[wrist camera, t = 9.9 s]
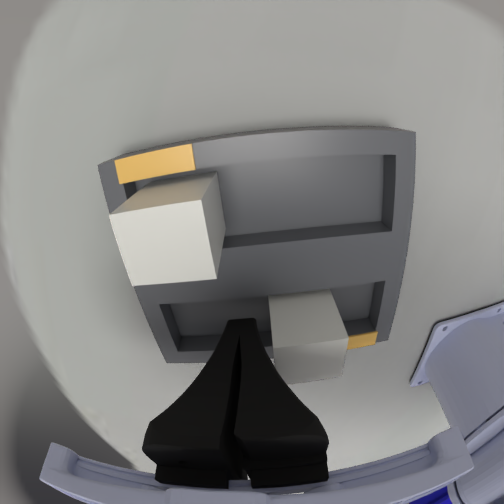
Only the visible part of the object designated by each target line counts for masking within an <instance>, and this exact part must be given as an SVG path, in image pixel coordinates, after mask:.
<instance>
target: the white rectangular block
mask: <svg viewBox="0 0 504 504" xmlns="http://www.w3.org/2000/svg"><path fill="white" fill-rule="evenodd" d="M109 218H110V221H111V225H112V228H113V231H114V235H115V238H116V241H117V244H118V247H119V250H120V253H121V256H122V259H123V262H124V265H125V268H126V271H127V273H128V276H129V279H130V282H131V284H132V286H138V285H151V284H164V283H176V282H188V281H199V280H211V279H217V275H218V269H219V263H220V258H221V252H222V247H223V241H224V236H225V231H226V227H225V221H224V215H223V208H222V202H221V196H220V189H219V183H218V176H217V171H215V172H208V173H201V174H195V175H189V176H182V177H176V178H171V179H165V180H160V181H154V182H149V183H148V184H147V185H145V186H144V187H143V188H141V189H140V190H139V191H138V192H136V193H135V194H134V195H132V196H131V197H130V198H129V199H127V200H126V201H125V202H124V203H123V204H121V205H120V206H119V207H118V208H117V209H115V210H114V211H113V212H112V213H111V214H109Z"/></svg>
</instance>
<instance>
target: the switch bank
mask: <svg viewBox="0 0 504 504" xmlns="http://www.w3.org/2000/svg"><path fill="white" fill-rule="evenodd" d="M415 160H416V132H413V131H408V130H403V129H398V128H392V127H375V126H321V127H298V128H283V129H271V130H260V131H250V132H242V133H234V134H226V135H219V136H212V137H206V138H200V139H194V140H188V141H183V142H177V143H172V144H167V145H162V146H158V147H153V148H149V149H144V150H140V151H136V152H132V153H128V154H124V155H120V156H118V157H115V158H113V159H111V160H108V161H106V162H103V163H101V164H99V165H98V169H99V174H100V178H101V182H102V186H103V190H104V194H105V198H106V202H107V206H108V209H109V213H110V214H111V213H112V212H113V211H114V210H115V209H117V208H118V207H119V206H120V205H121V204H123V203H124V202H125V201H126V200H127V199H129V198H130V197H131V196H132V195H134V194H135V193H136V192H138V191H139V190H140V189H141V188H143V187H144V186H145V185H147V184H148V183H149V182H154V181H160V180H165V179H171V178H176V177H182V176H189V175H195V174H201V173H208V172H215V171H217V176H218V183H219V189H220V196H221V202H222V208H223V215H224V221H225V227H226V231H225V236H224V241H223V247H222V252H221V258H220V263H219V269H218V275H217V279H211V280H199V281H188V282H176V283H164V284H151V285H138V286H134V289H135V291H136V294H137V296H138V299H139V301H140V304H141V306H142V309H143V311H144V314H145V316H146V319H147V321H148V323H149V326H150V328H151V330H152V332H153V335H154V337H155V339H156V341H157V344H158V346H159V348H160V350H161V352H162V354H163V356H164V359H165V361H166V363H207V362H208V360H209V358H210V357H211V355H212V353H213V352H214V350H215V348H216V346H217V344H218V342H219V340H220V338H221V336H222V334H223V331H224V329H225V326H226V324H227V321H228V320H231V319H243V318H255V319H256V321H257V328H258V332H259V335H260V338H261V341H262V343H263V345H264V348H265V350H266V352H267V354H268V356H269V358H274V352H273V342H272V331H271V320H270V309H269V299H268V296H269V295H278V294H288V293H296V292H305V291H313V290H321V289H329V288H330V291H331V293H332V296H333V298H334V301H335V303H336V306H337V308H338V311H339V314H340V316H341V319H342V321H343V324H344V327H345V329H346V332H347V335H348V337H349V340H348V346H347V350H348V349H354V348H359V347H364V346H369V345H374V344H375V343H376V342H381V341H386V340H388V338H389V334H390V330H391V327H392V323H393V319H394V315H395V311H396V307H397V302H398V298H399V293H400V288H401V284H402V278H403V273H404V268H405V262H406V256H407V250H408V243H409V236H410V228H411V219H412V209H413V198H414V184H415Z"/></svg>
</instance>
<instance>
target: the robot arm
mask: <svg viewBox="0 0 504 504" xmlns="http://www.w3.org/2000/svg"><path fill="white" fill-rule="evenodd" d="M427 382H430V384H431V386H432V388H433V390H434V392H435V394H436V396H437V398H438V400H439V403H440V405H441V407H442V409H443V411H444V414H445V416H446V418H447V420H448V423H449V425H450V427H451V428H450V429H448V430H446V431H444V432H441V433H439V434H437V435H435V436H434V437H433V438H431V439H430V440H429V442H428V443H427V444H425V445H422V446H419V447H417V448H414V449H411V450H409V451H406V452H403V453H400V454H397V455H394V456H391V457H387V458H384V459H381V460H377V461H374V462H370V463H366V464H362V465H358V466H354V467H349V468H345V469H340V470H335V471H330V472H328V467H327V454H326V451H327V448H328V445H329V440H328V436H327V434H326V431H325V429H324V428H323V426H322V424H321V422H320V421H319V419H318V417H317V416H316V415H315V414H314V413H313V412H311V411H310V410H309V409H308V408H307V407H306V406H305V405H304V404H303V403H302V402H301V401H300V400H299V399H298V397H297V396H296V395H295V394H294V393H293V392H292V390H291V389H290V388H289V387H288V386H287V384H286V383H285V382H284V380H283V379H282V377H281V376H280V374H279V373H278V371H277V370H276V368H275V367H274V365H273V363H272V361H271V360H270V358H269V356H268V354H267V352H266V350H265V348H264V345H263V343H262V341H261V338H260V335H259V332H258V328H257V321H256V319H255V318H243V319H231V320H228V321H227V324H226V326H225V329H224V331H223V334H222V336H221V338H220V340H219V342H218V344H217V346H216V348H215V350H214V352H213V353H212V355H211V357H210V358H209V360H208V362H207V363H206V365H205V366H204V368H203V369H202V371H201V372H200V374H199V375H198V376H197V378H196V379H195V380H194V381H193V383H192V384H191V385H190V386H189V387H188V388H187V390H186V391H185V392H184V393H183V394H182V395H181V396H180V397H179V398H178V399H177V400H176V401H175V402H174V403H173V404H172V405H171V406H170V407H168V408H167V409H166V410H165V411H164V412H162V413H161V414H160V415H158V416H157V417H156V418H155V419H153V420H152V421H150V423H149V426H148V428H147V431H146V433H145V438H144V442H143V446H142V451H143V452H144V453H145V454H146V456H148V457H149V458H150V459H151V460H152V461H153V462H155V463H156V464H157V467H156V473H155V474H153V473H147V472H141V471H136V470H131V469H126V468H121V467H117V466H113V465H109V464H105V463H101V462H98V461H94V460H91V459H87V458H84V457H81V456H78V455H77V454H76V453H75V452H74V451H72V450H71V449H69V448H67V447H64V446H61V445H59V444H56V443H53V442H52V443H51V445H50V448H49V451H48V454H47V456H46V459H45V462H44V465H43V468H42V472H41V474H40V480H42V481H43V482H45V483H46V484H48V485H50V486H52V487H53V488H55V489H57V490H59V491H61V492H63V493H64V494H66V495H68V496H71V497H73V498H75V499H78V500H80V501H82V502H85V503H88V504H407V503H409V502H412V501H414V500H417V499H419V498H421V497H424V496H426V495H428V494H430V493H433V492H435V491H437V490H439V489H441V488H443V487H445V486H447V489H448V494H449V498H450V500H451V502H452V504H504V302H502V303H499V304H496V305H493V306H491V307H488V308H485V309H482V310H479V311H476V312H473V313H470V314H467V315H463V316H460V317H457V318H453V319H450V320H447V321H443V322H440V323H437V324H436V325H435V326H434V328H433V331H432V333H431V336H430V339H429V341H428V344H427V346H426V348H425V351H424V353H423V356H422V358H421V360H420V362H419V365H418V367H417V369H416V371H415V373H414V375H413V378H412V380H411V382H410V385H411V387H415V386H418V385H421V384H424V383H427ZM247 474H248V476H249V478H250V480H248V477H247ZM301 492H304V494H292V493H301ZM282 494H286V495H282Z"/></svg>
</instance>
